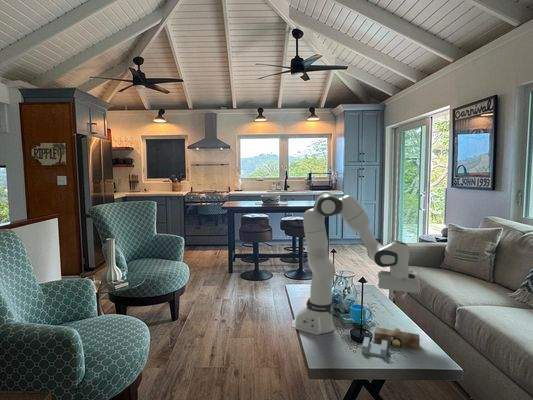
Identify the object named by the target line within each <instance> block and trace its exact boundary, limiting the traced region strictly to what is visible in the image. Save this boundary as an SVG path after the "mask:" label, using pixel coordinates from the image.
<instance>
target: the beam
mask: <svg viewBox="0 0 533 400" xmlns="http://www.w3.org/2000/svg"><path fill="white" fill-rule="evenodd" d="M373 334H374V335H373V336H374V337H373V341H374V342H373V343H374V344H380V345H381V344H382V340H385V341H388V342H387V346H392V340H393V338H399V339H401V348H403V349H410V350H415V351H420V345H421V344H420V343H421V340H420V339H421V337H420V334H419V333H418V334H417V333H412V332H406V331H401V330H400V331H395V330H394V329H388V328H383V327H382V328H381V327H377V326H376V327H375V329H374V333H373Z"/></svg>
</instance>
